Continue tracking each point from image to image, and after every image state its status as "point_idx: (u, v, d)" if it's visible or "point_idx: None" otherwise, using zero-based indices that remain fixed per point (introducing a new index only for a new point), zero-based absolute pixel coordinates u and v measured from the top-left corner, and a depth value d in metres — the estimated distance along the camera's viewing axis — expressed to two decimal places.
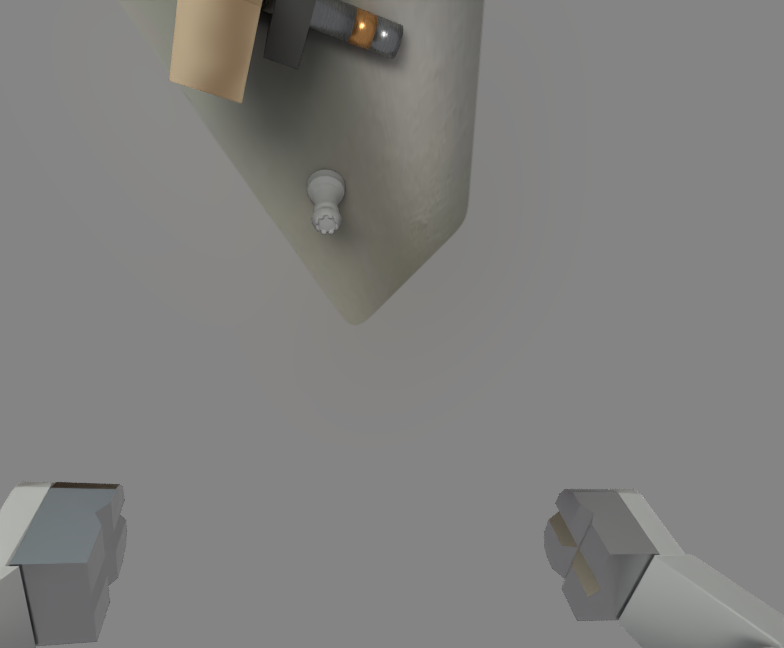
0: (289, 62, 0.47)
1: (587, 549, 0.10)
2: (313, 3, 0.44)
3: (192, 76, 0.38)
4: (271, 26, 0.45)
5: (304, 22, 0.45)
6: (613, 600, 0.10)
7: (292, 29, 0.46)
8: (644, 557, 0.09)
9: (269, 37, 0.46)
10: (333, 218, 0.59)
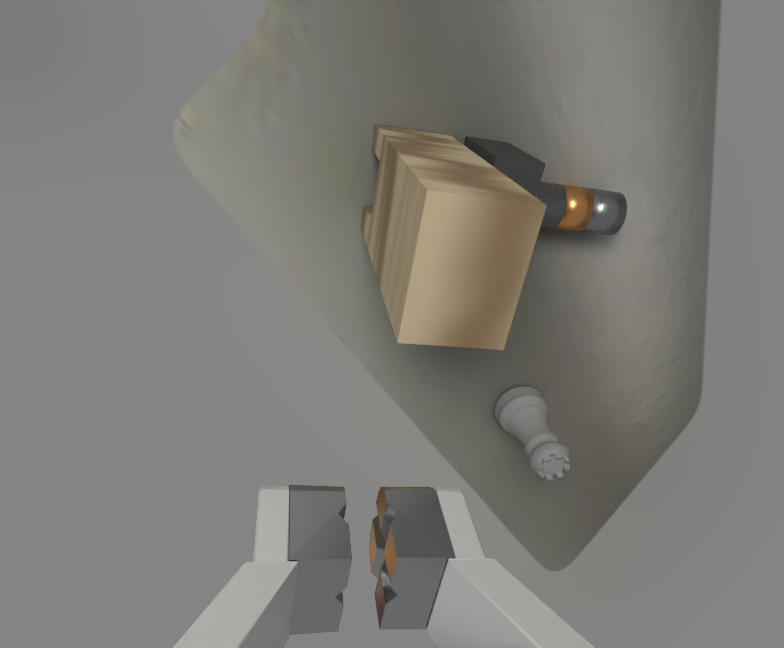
0: None
1: (387, 551, 0.09)
2: (535, 189, 0.32)
3: (433, 328, 0.24)
4: None
5: None
6: (415, 607, 0.09)
7: None
8: (439, 561, 0.09)
9: None
10: (562, 456, 0.41)
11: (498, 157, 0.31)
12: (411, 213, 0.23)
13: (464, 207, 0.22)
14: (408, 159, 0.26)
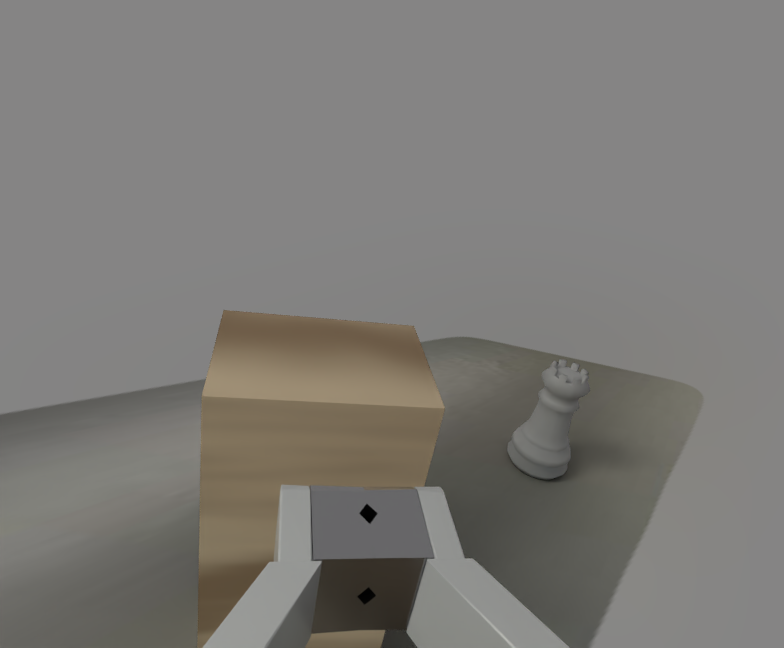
0: None
1: None
2: None
3: (409, 378, 0.17)
4: None
5: None
6: (395, 608, 0.09)
7: None
8: (418, 561, 0.09)
9: None
10: None
11: None
12: (255, 450, 0.16)
13: (227, 364, 0.16)
14: None
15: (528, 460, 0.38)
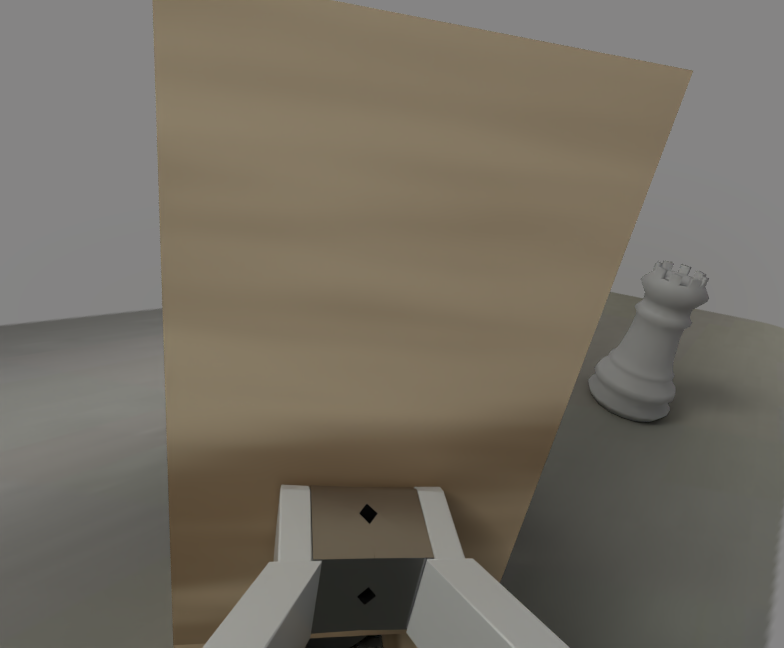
0: None
1: None
2: None
3: None
4: None
5: None
6: (395, 608, 0.09)
7: None
8: (418, 561, 0.09)
9: None
10: None
11: None
12: (280, 155, 0.07)
13: None
14: None
15: (622, 396, 0.29)
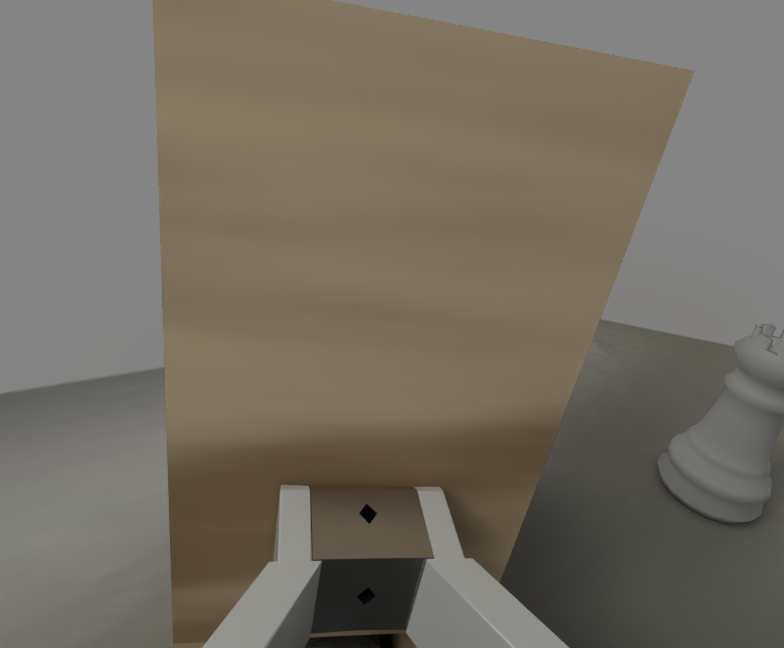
0: None
1: None
2: None
3: None
4: None
5: None
6: (394, 608, 0.09)
7: None
8: (417, 561, 0.09)
9: None
10: None
11: None
12: (280, 155, 0.07)
13: None
14: None
15: (707, 492, 0.23)
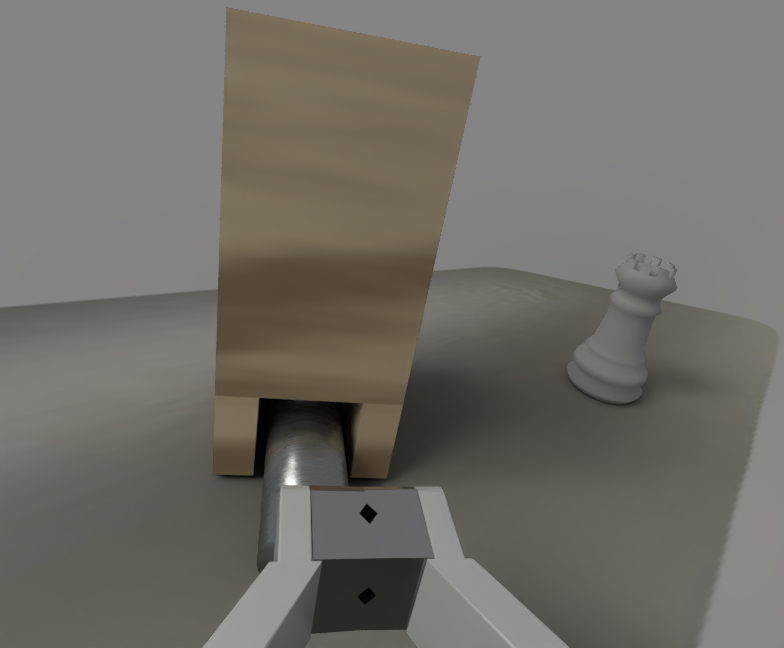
0: None
1: None
2: None
3: None
4: None
5: None
6: (395, 608, 0.09)
7: None
8: (418, 561, 0.09)
9: None
10: None
11: None
12: (280, 94, 0.15)
13: None
14: None
15: (596, 379, 0.31)
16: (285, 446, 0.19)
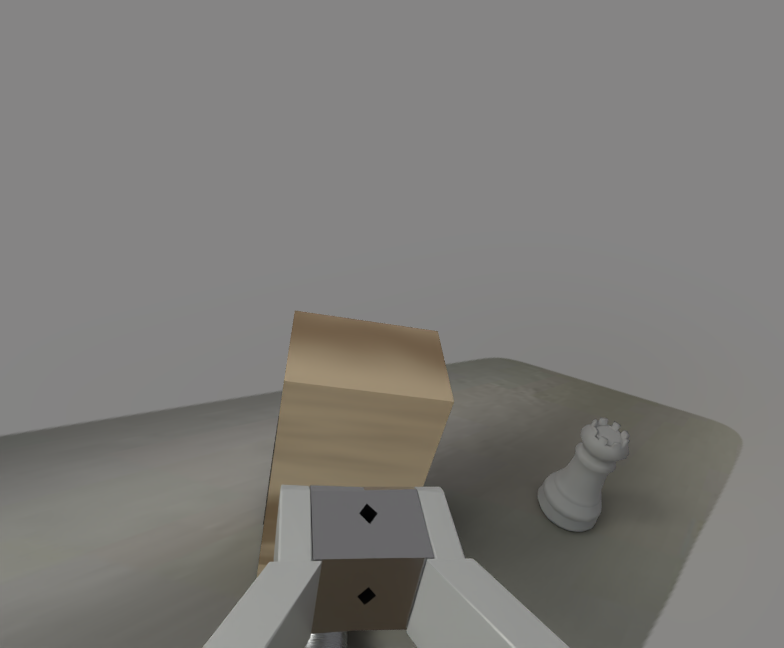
0: None
1: None
2: None
3: (430, 376, 0.23)
4: None
5: None
6: (395, 608, 0.09)
7: None
8: (418, 561, 0.09)
9: None
10: None
11: (273, 452, 0.30)
12: (316, 419, 0.22)
13: (300, 356, 0.22)
14: None
15: (558, 512, 0.38)
16: None
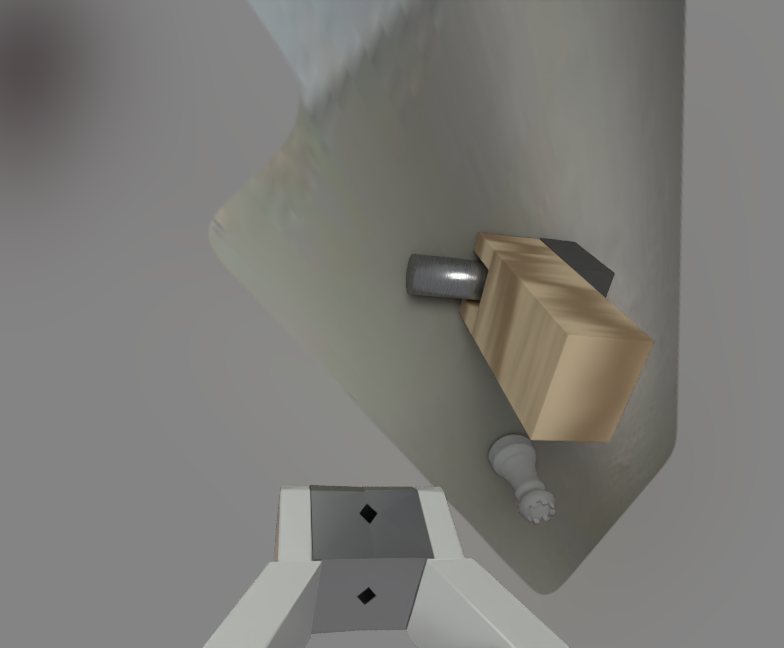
0: None
1: None
2: (605, 293, 0.38)
3: (558, 429, 0.31)
4: None
5: None
6: (395, 608, 0.09)
7: None
8: (418, 561, 0.09)
9: None
10: (547, 502, 0.46)
11: (577, 269, 0.37)
12: (545, 342, 0.30)
13: (593, 345, 0.28)
14: (532, 288, 0.33)
15: (503, 446, 0.51)
16: (466, 275, 0.40)
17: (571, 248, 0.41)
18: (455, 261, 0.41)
